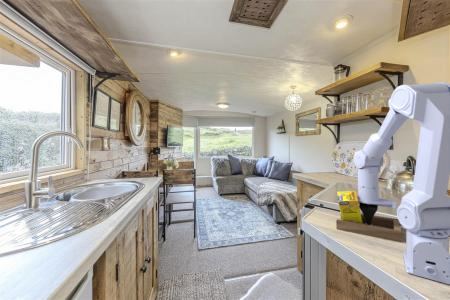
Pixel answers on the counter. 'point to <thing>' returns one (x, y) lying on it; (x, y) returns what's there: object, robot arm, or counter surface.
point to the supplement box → (349, 206)
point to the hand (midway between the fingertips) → (368, 225)
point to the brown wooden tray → (373, 227)
